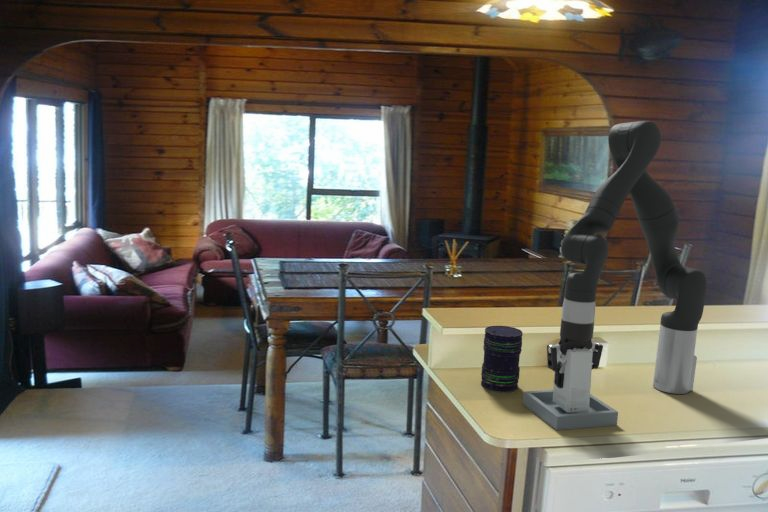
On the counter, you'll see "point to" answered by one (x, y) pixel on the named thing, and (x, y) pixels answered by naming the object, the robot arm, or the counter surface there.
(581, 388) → the skincare box
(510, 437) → the counter surface
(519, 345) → the dark blue barrel
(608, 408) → the tray
